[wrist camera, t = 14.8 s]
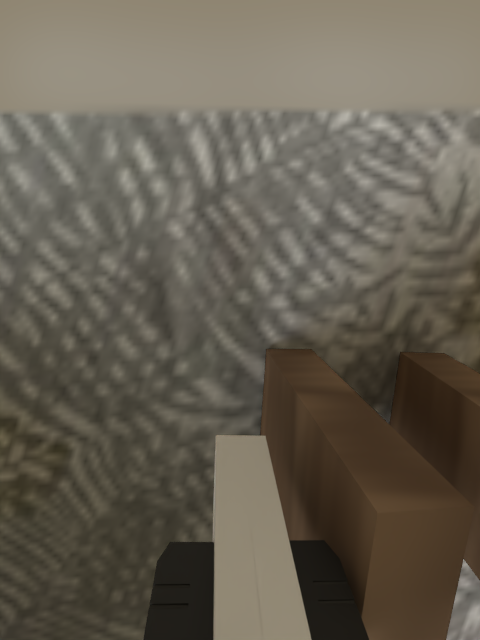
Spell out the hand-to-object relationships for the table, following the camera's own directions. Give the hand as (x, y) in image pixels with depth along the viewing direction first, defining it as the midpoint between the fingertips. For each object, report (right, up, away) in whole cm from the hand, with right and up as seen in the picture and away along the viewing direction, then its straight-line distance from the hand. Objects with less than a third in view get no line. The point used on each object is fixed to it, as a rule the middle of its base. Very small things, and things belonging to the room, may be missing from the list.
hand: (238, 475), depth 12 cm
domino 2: (+8, +1, +6) cm, 10 cm away
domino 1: (+2, +1, +6) cm, 6 cm away
